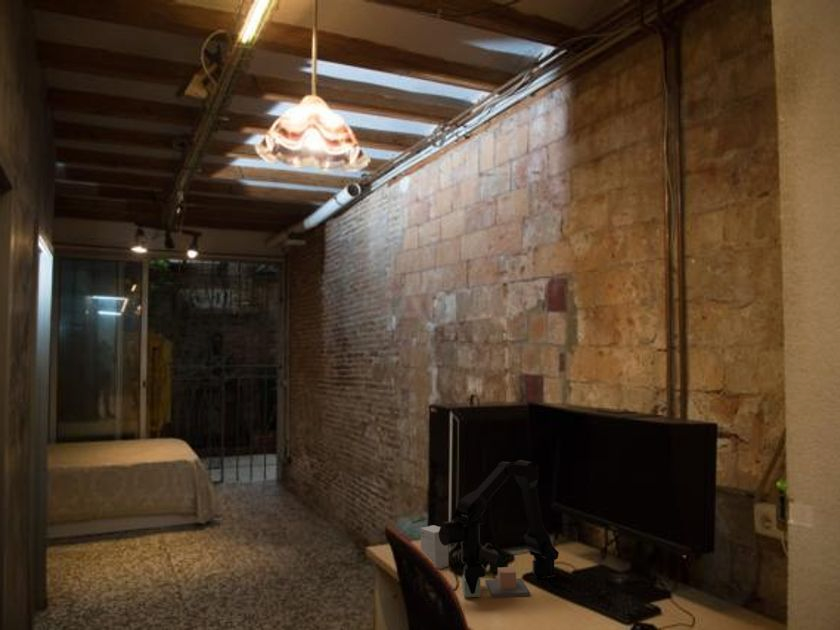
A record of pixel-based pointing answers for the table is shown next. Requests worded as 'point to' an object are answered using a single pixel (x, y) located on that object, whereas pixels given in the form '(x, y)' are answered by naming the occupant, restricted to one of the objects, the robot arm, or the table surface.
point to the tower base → (497, 592)
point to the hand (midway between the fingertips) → (471, 590)
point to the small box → (434, 546)
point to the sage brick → (467, 591)
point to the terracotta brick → (507, 578)
